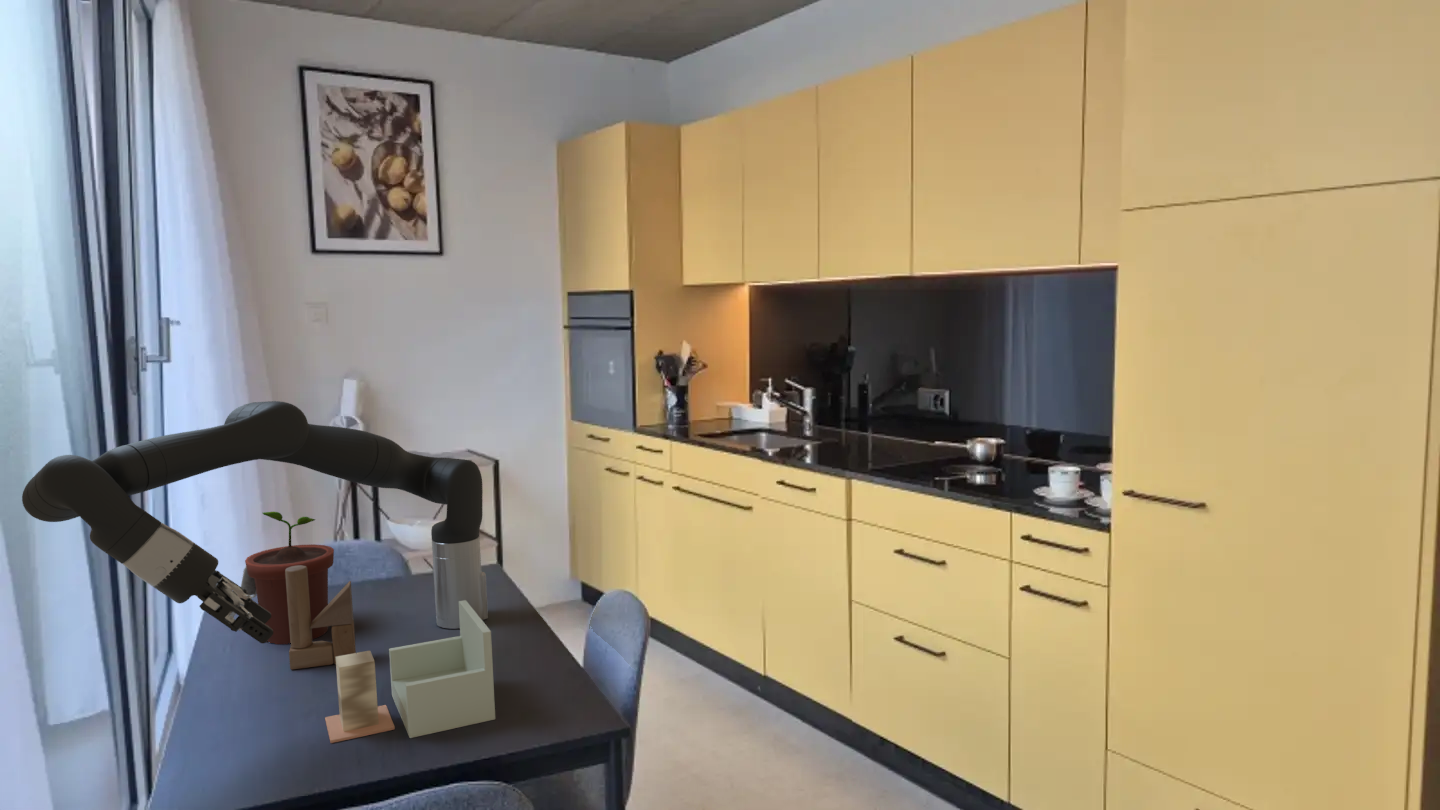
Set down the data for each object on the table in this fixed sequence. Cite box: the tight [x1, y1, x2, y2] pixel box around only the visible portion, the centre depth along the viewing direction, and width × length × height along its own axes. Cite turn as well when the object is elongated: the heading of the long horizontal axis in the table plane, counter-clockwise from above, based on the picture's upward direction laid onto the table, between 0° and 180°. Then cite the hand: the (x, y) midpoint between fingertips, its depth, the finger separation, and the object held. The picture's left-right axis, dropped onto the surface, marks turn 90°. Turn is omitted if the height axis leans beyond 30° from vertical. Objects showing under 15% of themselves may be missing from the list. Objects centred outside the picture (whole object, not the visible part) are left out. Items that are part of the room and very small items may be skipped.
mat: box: [324, 704, 396, 744], centre depth 144 cm, size 9×9×1 cm
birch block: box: [335, 650, 379, 732], centre depth 144 cm, size 5×5×10 cm
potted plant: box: [240, 511, 335, 645], centre depth 186 cm, size 18×22×25 cm
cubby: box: [388, 600, 496, 739], centre depth 149 cm, size 13×17×14 cm
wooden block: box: [285, 565, 357, 671], centre depth 169 cm, size 4×11×18 cm, turn 108°
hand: (268, 628), depth 137 cm, fingers open, 8 cm apart
